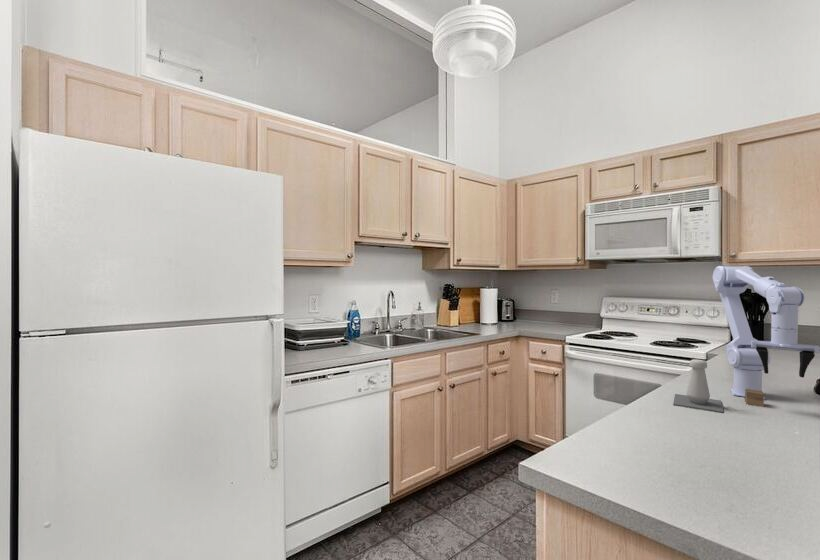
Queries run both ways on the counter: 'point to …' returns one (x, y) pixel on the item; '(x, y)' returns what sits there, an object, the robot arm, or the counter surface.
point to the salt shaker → (698, 383)
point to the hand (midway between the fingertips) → (783, 374)
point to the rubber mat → (709, 406)
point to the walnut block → (754, 397)
